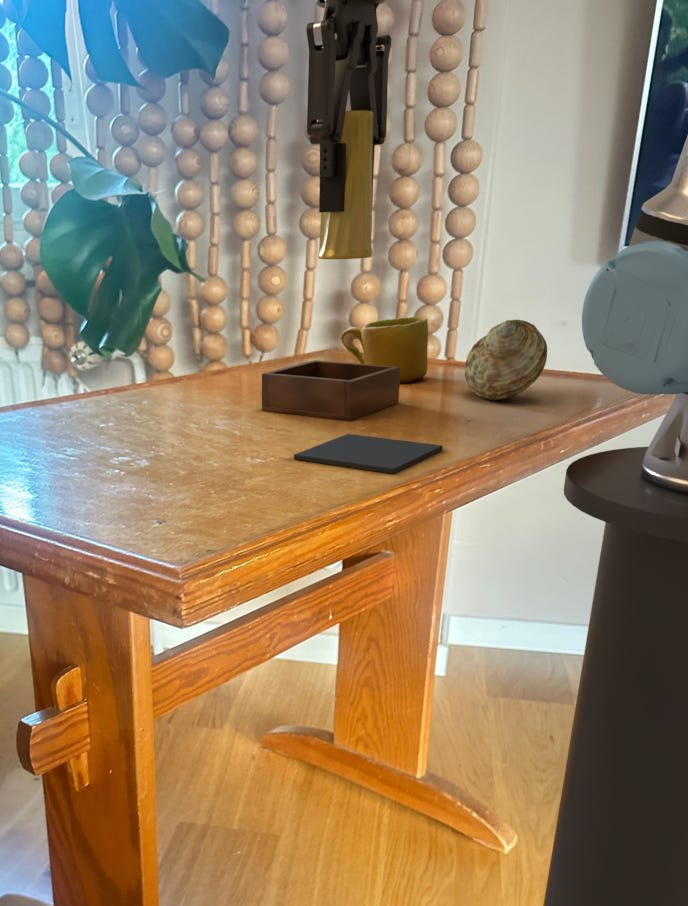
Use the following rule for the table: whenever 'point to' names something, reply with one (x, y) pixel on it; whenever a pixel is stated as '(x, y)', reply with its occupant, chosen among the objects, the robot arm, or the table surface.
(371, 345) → the mug
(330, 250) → the vase
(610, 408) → the table surface
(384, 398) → the bin
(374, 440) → the mat
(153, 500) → the table surface
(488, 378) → the seashell
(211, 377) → the table surface
